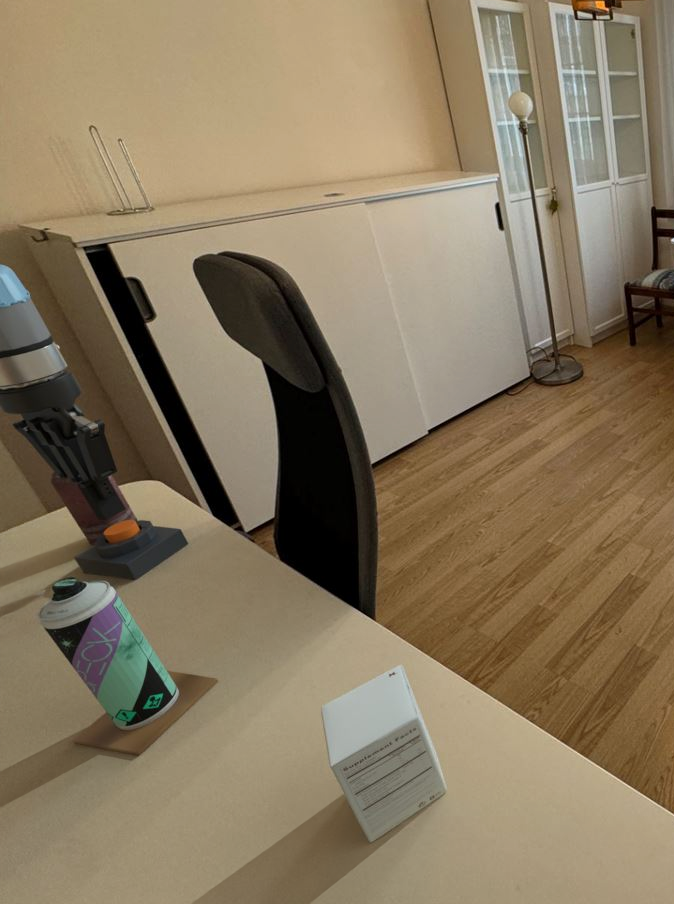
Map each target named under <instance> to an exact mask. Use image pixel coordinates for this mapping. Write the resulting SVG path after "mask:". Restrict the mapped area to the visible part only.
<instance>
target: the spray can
mask: <svg viewBox="0 0 674 904" xmlns="http://www.w3.org/2000/svg"><path fill="white" fill-rule="evenodd" d="M51 590H52V591H53V594H52V595H51V596H50V597H49V600H48V601H47V602H46V603H45V604H44V605H43V606H42V607H41V608H40V609H39V611H38V613H37V617H38V619H39V620H40V621H39V622H40V625H41V626H42V628H43V629H44V630H45V631H46V633H47V634H48V635H49V637H50V639H52V641H53V642H54V643H55V645H56V646H57V649H59V651H60V652H61V653H62V654H63V656H64V658H66V660H67V661H68V662H69V663H70V665H71V667H72V668H73V669H74V671H75V672H76V673H77V675H78V676H79V677H80V679H81V680H82V681H83V683H84V685H86V687H87V689H89V691H90V692H91V694H92V695H93V696H94V697H95V699H96V700H97V702H98V703H99V705H100V706H101V707H102V709H103V710H104V711H105V713H106V712H107V714H108V715H109V716H110V718H111V719H112V720H113V722H114V723H115V724H116V725H117V727H118V728H120V729H122V730H132V729H136V728H139V727H142V726H144V725H146V724H148V723H150V722H152V721H154V720H155V719H157V718H159V717H160V716H161V715H163V714H164V713H165V712H166V711H167V710H168V709H169V708H170V707H171V706H172V705H173V704H174V703H175V701H176V699H177V698H178V695H179V690H178V689H177V686H176V685H175V683H174V682H173V680H172V679H171V677H170V675H169V674H168V672H167V671H168V670H167V669H166V667H165V666H164V664H163V662H162V661H161V660H160V658H159V657H158V655H157V654H156V652H155V650H154V649H153V647H152V645H151V644H150V643H149V641H148V640H147V638H146V636H145V635H144V633H143V631H142V630H141V629H140V627H139V626H138V624H137V622H136V621H135V619H134V617H133V616H132V614H131V613H130V612H129V610H128V608H127V607H126V605H125V604H124V602H123V601H122V599H121V598H120V595H119V594H118V592H117V591H116V590H115V587H113V586H112V585H110V582H108V581H106V580H92V581H88V582H87V581H79V580H77V578H76V577H74V576H69V577H65V578H62V579H59V580H58V581H56V582H54V583H53V584H52V586H51ZM166 670H167V671H166Z"/></svg>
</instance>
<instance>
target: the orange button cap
mask: <svg viewBox="0 0 674 904" xmlns="http://www.w3.org/2000/svg"><path fill="white" fill-rule="evenodd" d="M139 531H140V529H139V527H138V525H137V523H136V522H135V521H134V520H125V521H122V522H119V523H116V524H114V525H112V526H110V527H109V528H107V529H106V530H105V531H104V535H105V537H106V539H107V540H108V542H109V543H116V542H121V541H123V540H126V539H128V538H131V537H132V536H134V535H136V534H137V533H139Z"/></svg>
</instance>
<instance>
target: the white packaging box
mask: <svg viewBox="0 0 674 904" xmlns="http://www.w3.org/2000/svg"><path fill="white" fill-rule="evenodd" d="M320 711H321V721H322V727H323V733H324V737H325V738H324V740H325V746H326V751H327V758H328V762H329V767H330V769H331V771H332V773H333V775H334V776H335V779H336V780H337V782H338V784H339V786H340V788H341V791H342V793H343V794H344V796H345V798H346V801H347V802H348V805H349V806H350V808H351V810H352V812H353V814H354V816H355V818H356V820H357V821H358V823H359V825H360V827H361V829H362V831H363V833H364V835H365V837H366V838H367V840H368V842H369V844H370V843H372V842H374V841H376V840H377V839H379V838H381V837H382V836H383V835H385V834H387V833H388V832H389V831H391V830H393V829H394V828H395V827H397V826H399V825H400V824H402V823H403V822H404V821H406V820H408V819H410V817H412V816H414V815H415V814H417V813H418V812H419V811H421V810H423V809H424V808H426V807H427V806H428V805H430V804H431V803H432V802H434V801H436V800H437V799H438V798H440V797H441V796H443V795H444V794H446V792H448V788H447V785H446V781H445V778H444V774H443V770H442V767H441V764H440V760H439V758H438V754H437V751H436V749H435V747H434V743H433V741H432V738H431V736H430V733H429V731H428V728H427V726H426V723H425V720H424V718H423V715H422V712H421V710H420V707H419V704H418V702H417V699H416V697H415V694H414V691H413V689H412V686H411V685H410V682H409V679H408V676H407V674H406V671H405V668H404V667H403V664H399V665H397V666H395V667H393V668H391V669H389V670H387V671H385V672H383V673H381V674H380V675H379V674H378V676H376V677H374V678H372V679H370V680H368V681H366V682H365V683H363V684H360V685H359V686H357V687H355V688H353V689H351V690H350V691H348V692H345V693H343V694H342V695H340V696H338V697H336V698H334V699H333V700H331V701H329V702H327V703H325V704H324V705H322V706H321V707H320Z"/></svg>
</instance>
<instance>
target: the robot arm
mask: <svg viewBox="0 0 674 904" xmlns="http://www.w3.org/2000/svg"><path fill="white" fill-rule="evenodd" d="M60 350H61V347H60V345H59V344H56V343H55V341H54V338H53V337H52V334H51V333H50V330H49V329H48V327H47V325H46V324H45V322H44V319H43V318H42V316H41V314H40V313H39V311H38V309H37V307H36V306H35V304H34V302H33V300H32V298H31V293H30V291H29V290H27V288H25V286H24V285H23V283H22V282H21V280H20V279H19V277H18V276H17V274H16V273H15V271H14V270H13V269H11V268H10V267H9V266H6V265H4V264H0V409H1V410H2V411H3V412H4V413H5V414H9V415H20V416H21V418H22V419H21V420H18V421H16V422H12V427H13V428H14V429H15V430H16V431H17V432H18V433H19V434H21V435H22V436H23V437H24V438H25V439H26V440H27V441H28V443H30V445H31V446H32V447H33V448H34V450H36V452H37V453H38V454H39V455H40V456H41V458H42V459H43V460H44V461H45V463H46V464H47V465H48V466H49V467H50V469H52V471H53V472H55V473H56V474H57V475H58V476H59V477H60V478H61V479H65V478H67V477H68V478H69V480H70V481H71V482H72V483H77V484H78V487H79V489H80V490H81V492H82V494H83V495H84V497H85V498H86V500H87V502H88V503H89V505H90V507H91V508H92V510H93V511H94V513H95V515H96V516H97V518H98V519H99V520H108V519H109V518H111V517H113V516H115V515H116V514H118V513H120V512H121V511H123V510H125V509H126V508H125V506H124V504H123V503H122V501H121V499H120V498H119V496H118V494H117V492H116V491H115V489H114V487H113V486H112V484H111V482H110V481H109V479H108V477H109V476H110V475H112V476H113V475H114V474H117V473H118V468H117V465H116V463H115V460H114V457H113V454H112V451H111V448H110V446H109V445H110V444H109V442H108V439H107V437H106V433H105V429H106V424H105V422H104V421H103V420H102V419H96V420H94V421H91V420H90V419H88V418H86V417H85V413H84V411H83V410H82V409H81V408H80V407H79V406H78V405H77V404H76V400H77V398H79V397H80V396H81V394H82V393H83V389H82V387H81V385H80V384H79V382H78V380H77V378H76V377H75V376H76V375H74V373H73V372H72V370H69V369H67V367H68V363H67V361H66V360H65V358H64V356H63V355H62V353H61V351H60Z"/></svg>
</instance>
